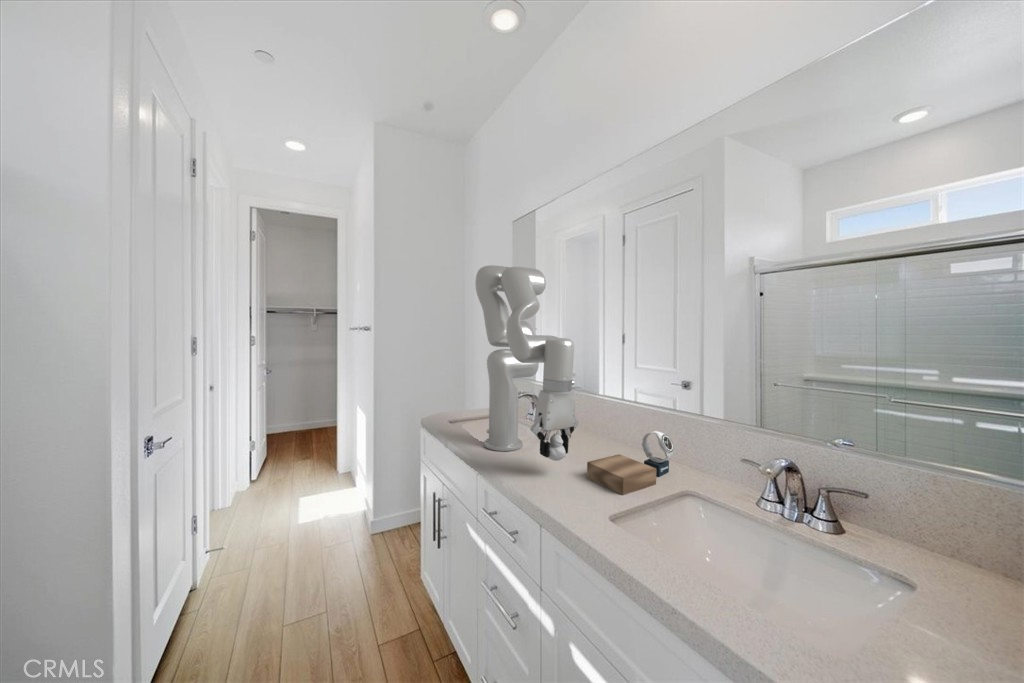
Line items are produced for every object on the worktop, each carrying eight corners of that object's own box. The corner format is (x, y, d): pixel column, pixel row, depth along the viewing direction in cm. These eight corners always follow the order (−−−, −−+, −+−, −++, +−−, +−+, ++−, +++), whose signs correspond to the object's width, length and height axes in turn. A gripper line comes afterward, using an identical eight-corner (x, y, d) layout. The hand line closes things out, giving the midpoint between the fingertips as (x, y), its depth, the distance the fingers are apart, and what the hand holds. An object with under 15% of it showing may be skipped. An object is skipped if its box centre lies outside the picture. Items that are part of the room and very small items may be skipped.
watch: (666, 479, 94) (667, 437, 94) (637, 470, 100) (638, 430, 100) (676, 474, 98) (677, 433, 98) (647, 465, 104) (649, 427, 104)
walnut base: (586, 476, 95) (587, 461, 95) (618, 468, 102) (619, 454, 101) (623, 495, 85) (623, 478, 85) (656, 484, 91) (656, 468, 91)
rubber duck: (558, 465, 92) (560, 434, 91) (537, 458, 96) (538, 428, 95) (569, 459, 96) (571, 429, 95) (549, 452, 100) (550, 424, 99)
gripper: (572, 381, 102) (569, 444, 103) (521, 385, 93) (518, 454, 94) (591, 386, 96) (588, 453, 97) (539, 391, 87) (535, 465, 88)
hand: (553, 453), depth 96 cm, fingers closed on rubber duck, 5 cm apart
